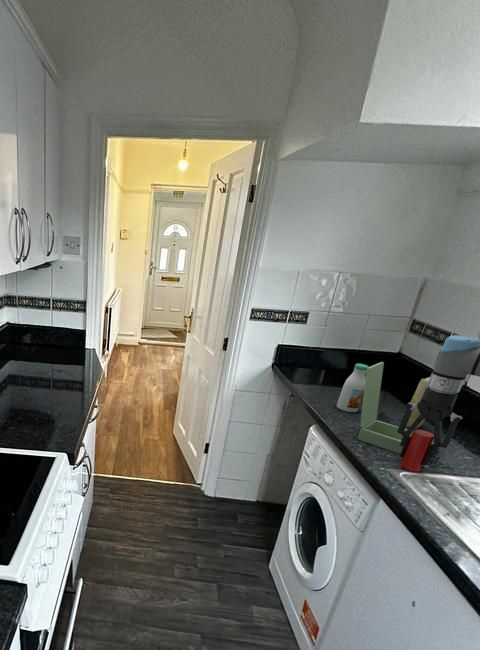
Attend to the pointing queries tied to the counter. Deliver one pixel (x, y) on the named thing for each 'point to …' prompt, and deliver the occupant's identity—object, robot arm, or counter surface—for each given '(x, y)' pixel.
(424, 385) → the food model
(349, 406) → the milk bottle
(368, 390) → the lid
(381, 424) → the green open box
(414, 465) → the tin
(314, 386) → the counter surface
